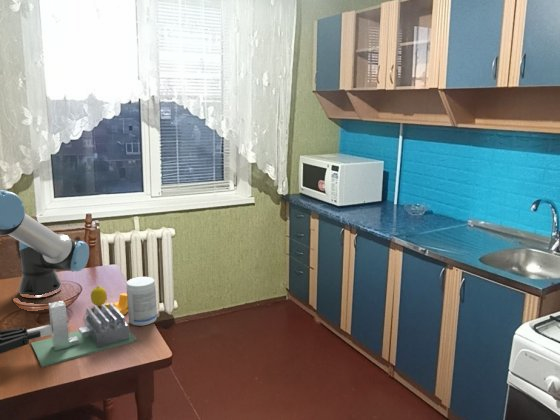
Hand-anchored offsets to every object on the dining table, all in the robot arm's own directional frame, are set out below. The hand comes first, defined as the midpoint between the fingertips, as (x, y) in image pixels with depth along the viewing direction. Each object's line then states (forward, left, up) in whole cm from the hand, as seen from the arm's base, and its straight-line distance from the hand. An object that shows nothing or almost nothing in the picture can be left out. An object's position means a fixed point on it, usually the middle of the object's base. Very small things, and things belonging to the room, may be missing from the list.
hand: (51, 329), depth 148 cm
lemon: (-25, +21, -8) cm, 34 cm away
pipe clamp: (-13, +23, -7) cm, 28 cm away
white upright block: (0, +4, -6) cm, 7 cm away
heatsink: (0, +15, -7) cm, 16 cm away
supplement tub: (-5, +30, -8) cm, 32 cm away
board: (0, +9, -7) cm, 12 cm away
